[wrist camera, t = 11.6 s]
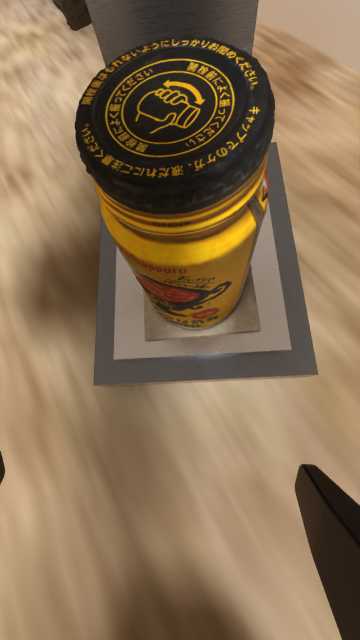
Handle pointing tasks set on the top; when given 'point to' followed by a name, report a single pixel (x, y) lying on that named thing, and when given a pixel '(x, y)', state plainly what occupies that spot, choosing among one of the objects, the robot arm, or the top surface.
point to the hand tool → (75, 13)
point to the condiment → (183, 177)
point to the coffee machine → (267, 261)
